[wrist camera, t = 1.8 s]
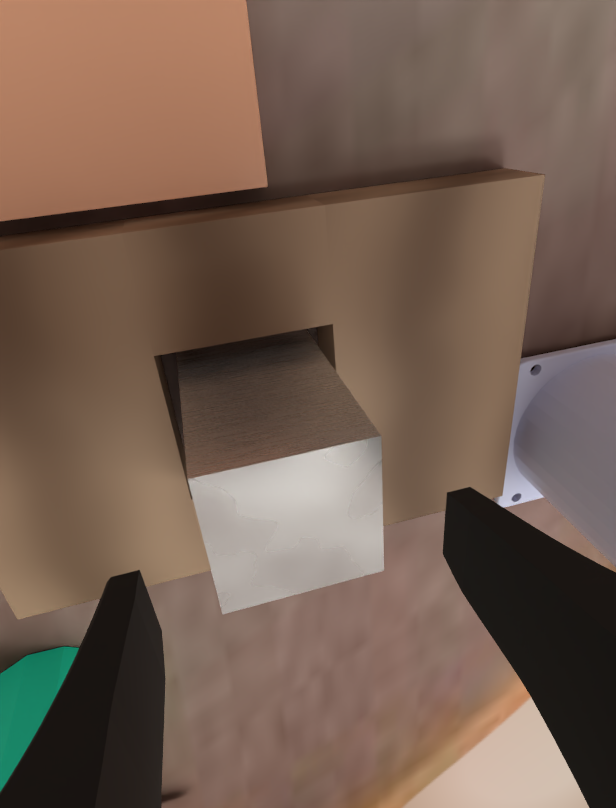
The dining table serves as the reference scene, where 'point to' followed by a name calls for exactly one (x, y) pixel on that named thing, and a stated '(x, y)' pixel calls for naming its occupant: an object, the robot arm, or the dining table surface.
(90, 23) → the terracotta tile
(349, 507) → the steel plug
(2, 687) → the candle
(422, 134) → the dining table surface
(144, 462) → the wooden board with hole
